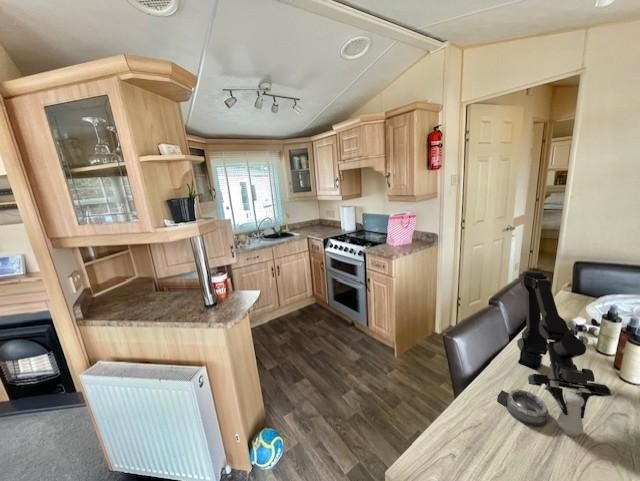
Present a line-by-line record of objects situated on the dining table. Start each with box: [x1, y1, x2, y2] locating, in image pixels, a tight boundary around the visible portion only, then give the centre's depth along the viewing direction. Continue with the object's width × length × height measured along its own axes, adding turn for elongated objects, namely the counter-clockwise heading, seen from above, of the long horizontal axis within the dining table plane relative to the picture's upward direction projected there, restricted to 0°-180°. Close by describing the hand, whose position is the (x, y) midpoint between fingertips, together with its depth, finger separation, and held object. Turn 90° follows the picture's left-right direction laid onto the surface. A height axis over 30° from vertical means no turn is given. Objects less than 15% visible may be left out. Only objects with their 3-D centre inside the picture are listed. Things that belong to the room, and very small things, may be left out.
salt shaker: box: [556, 391, 584, 438], centre depth 81 cm, size 6×6×13 cm
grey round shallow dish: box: [496, 389, 549, 428], centre depth 90 cm, size 13×11×4 cm
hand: (574, 416), depth 79 cm, fingers closed on salt shaker, 3 cm apart
